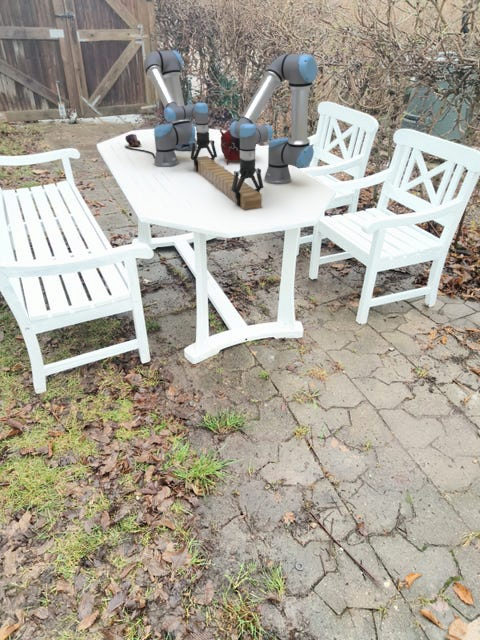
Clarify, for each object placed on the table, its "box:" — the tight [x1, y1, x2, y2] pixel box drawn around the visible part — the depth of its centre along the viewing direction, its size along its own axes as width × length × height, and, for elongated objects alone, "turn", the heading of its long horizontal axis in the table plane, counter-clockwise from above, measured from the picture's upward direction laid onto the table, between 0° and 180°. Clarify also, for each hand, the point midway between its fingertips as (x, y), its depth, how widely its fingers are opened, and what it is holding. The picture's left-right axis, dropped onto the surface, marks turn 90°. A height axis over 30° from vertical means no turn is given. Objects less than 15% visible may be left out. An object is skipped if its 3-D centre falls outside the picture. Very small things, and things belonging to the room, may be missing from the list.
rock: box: [125, 133, 142, 147], centre depth 332 cm, size 12×9×10 cm
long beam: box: [193, 155, 263, 211], centre depth 254 cm, size 80×9×7 cm, turn 23°
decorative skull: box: [219, 129, 257, 165], centre depth 296 cm, size 21×24×25 cm
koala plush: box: [174, 137, 198, 151], centre depth 321 cm, size 17×18×20 cm
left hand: (204, 169), depth 281 cm, fingers closed on long beam, 9 cm apart
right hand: (247, 203), depth 231 cm, fingers closed on long beam, 9 cm apart
